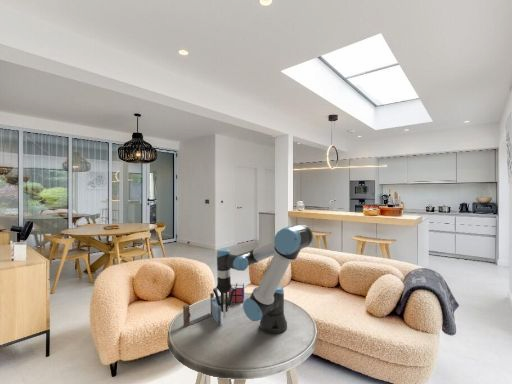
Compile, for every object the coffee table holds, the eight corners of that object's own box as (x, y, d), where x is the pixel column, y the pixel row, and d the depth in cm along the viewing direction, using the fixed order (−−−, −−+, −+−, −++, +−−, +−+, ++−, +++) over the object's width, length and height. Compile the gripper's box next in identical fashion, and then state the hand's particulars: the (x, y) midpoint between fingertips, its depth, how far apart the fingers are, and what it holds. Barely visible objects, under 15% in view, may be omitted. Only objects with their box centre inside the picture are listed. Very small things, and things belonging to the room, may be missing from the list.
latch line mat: (212, 315, 170) (212, 315, 170) (191, 325, 159) (191, 324, 159) (208, 313, 172) (208, 313, 172) (187, 323, 161) (187, 322, 161)
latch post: (190, 325, 158) (190, 305, 158) (186, 327, 156) (186, 307, 156) (187, 323, 160) (187, 304, 160) (183, 325, 158) (183, 305, 158)
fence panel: (225, 308, 179) (225, 291, 178) (215, 313, 173) (215, 295, 172) (223, 307, 180) (223, 290, 180) (213, 312, 174) (213, 294, 174)
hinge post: (215, 313, 172) (214, 292, 172) (212, 315, 170) (211, 294, 170) (212, 312, 174) (212, 291, 173) (209, 313, 172) (209, 293, 172)
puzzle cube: (243, 302, 188) (243, 288, 188) (228, 302, 188) (228, 288, 188) (244, 296, 198) (244, 282, 198) (230, 296, 198) (229, 282, 198)
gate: (211, 313, 170) (211, 298, 170) (214, 313, 171) (214, 297, 170) (217, 325, 156) (217, 308, 156) (220, 324, 157) (220, 307, 157)
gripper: (235, 274, 164) (236, 313, 165) (213, 274, 163) (214, 314, 164) (235, 278, 156) (235, 319, 157) (211, 279, 156) (212, 320, 157)
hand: (224, 317), depth 161 cm, fingers closed
